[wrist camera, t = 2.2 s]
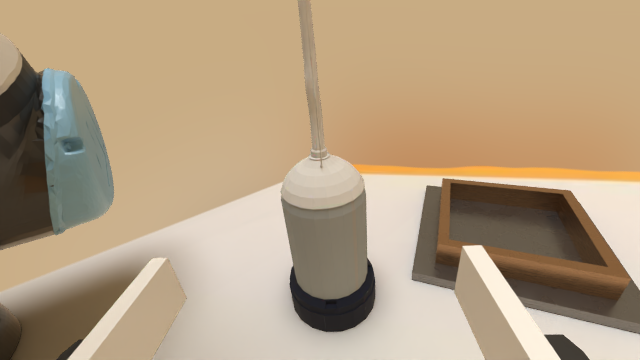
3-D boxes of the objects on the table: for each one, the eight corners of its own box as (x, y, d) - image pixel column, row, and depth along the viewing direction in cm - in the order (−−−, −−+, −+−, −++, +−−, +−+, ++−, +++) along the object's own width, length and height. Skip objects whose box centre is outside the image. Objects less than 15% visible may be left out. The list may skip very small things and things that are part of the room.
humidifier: (362, 257, 31) (355, -6, 19) (386, 323, 24) (398, -33, 12) (291, 268, 31) (240, 5, 19) (294, 339, 23) (213, -15, 12)
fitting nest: (411, 279, 28) (414, 253, 26) (426, 191, 42) (428, 170, 40) (660, 338, 21) (684, 308, 19) (576, 208, 35) (585, 184, 33)
